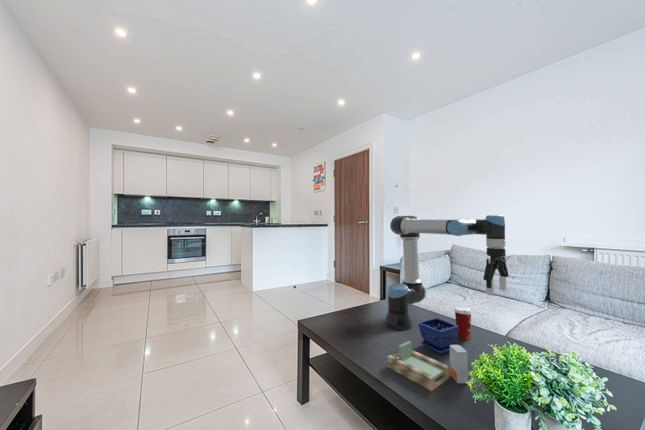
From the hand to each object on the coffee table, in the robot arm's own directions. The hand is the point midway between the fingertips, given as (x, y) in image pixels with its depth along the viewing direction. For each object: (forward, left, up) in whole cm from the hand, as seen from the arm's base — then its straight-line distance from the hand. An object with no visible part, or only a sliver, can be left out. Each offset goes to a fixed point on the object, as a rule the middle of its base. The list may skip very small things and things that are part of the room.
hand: (496, 292), depth 125 cm
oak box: (-13, -45, -27) cm, 54 cm away
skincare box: (-1, -37, -28) cm, 46 cm away
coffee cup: (-17, +2, -28) cm, 32 cm away
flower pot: (-19, -20, -28) cm, 39 cm away
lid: (-13, -45, -25) cm, 53 cm away
